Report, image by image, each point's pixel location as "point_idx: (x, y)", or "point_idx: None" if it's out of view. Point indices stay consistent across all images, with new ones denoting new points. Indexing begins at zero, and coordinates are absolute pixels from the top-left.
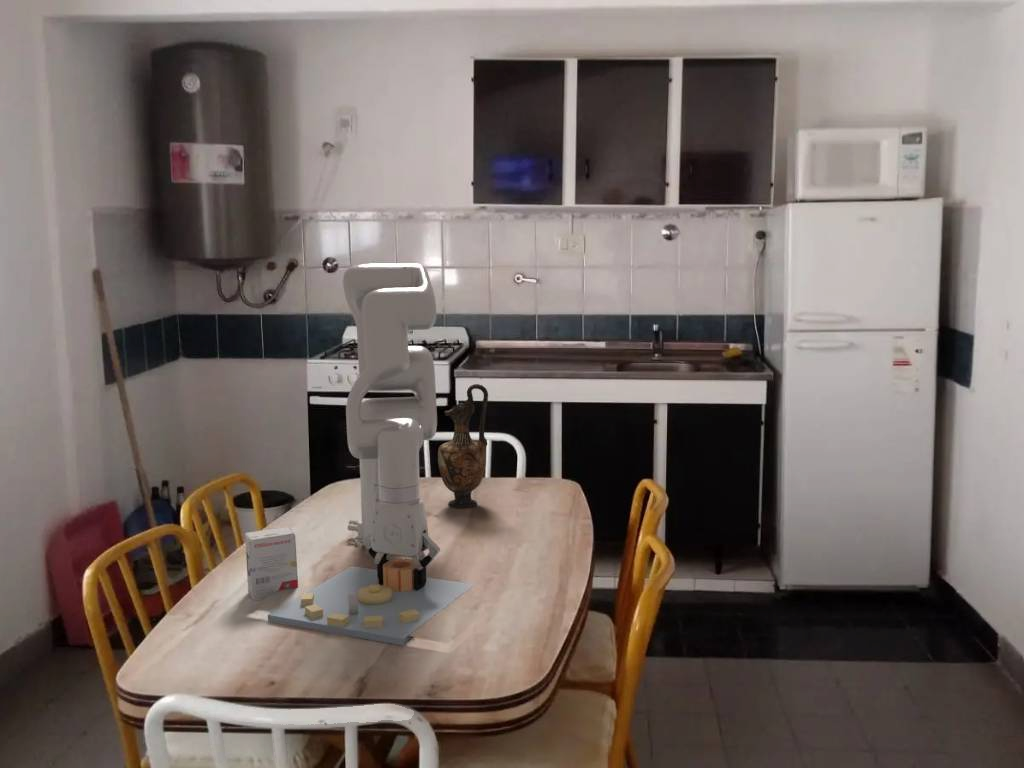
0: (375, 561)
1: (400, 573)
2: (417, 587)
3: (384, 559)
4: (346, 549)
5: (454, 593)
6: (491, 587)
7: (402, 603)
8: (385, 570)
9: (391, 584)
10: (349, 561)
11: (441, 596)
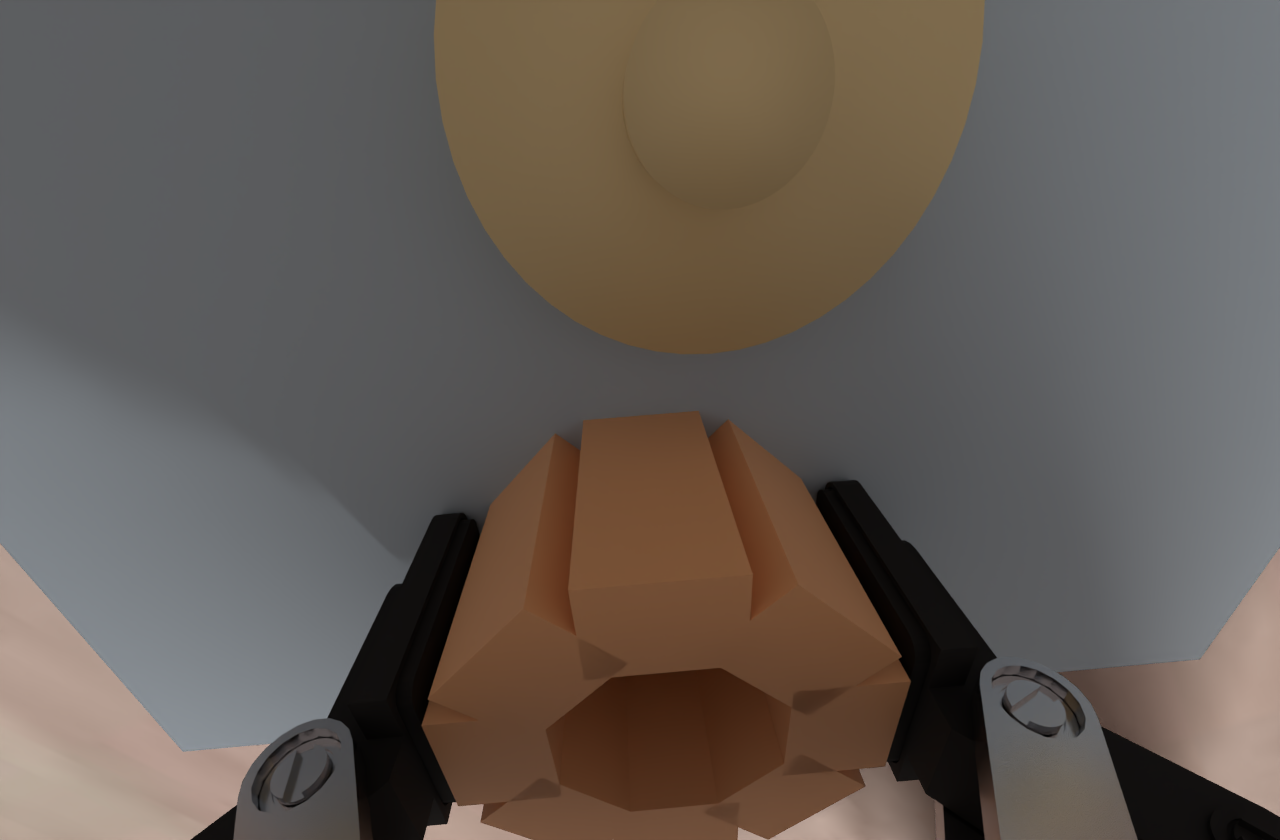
0: (1049, 690)
1: (540, 580)
2: (430, 536)
3: (940, 764)
4: (1248, 799)
5: (116, 592)
6: (185, 766)
7: (274, 137)
8: (795, 566)
9: (662, 448)
10: (1205, 716)
11: (134, 501)
